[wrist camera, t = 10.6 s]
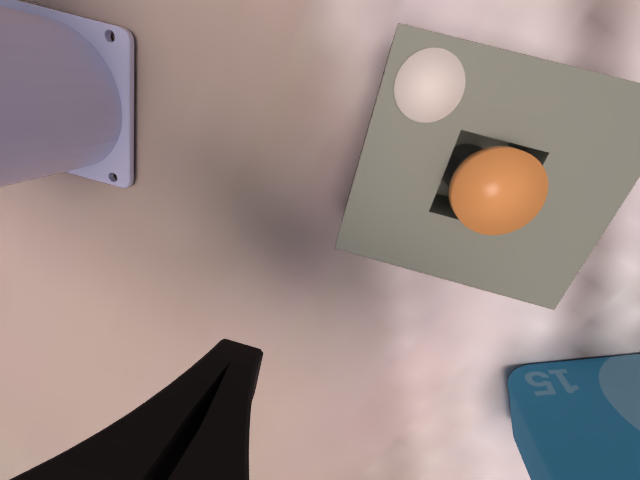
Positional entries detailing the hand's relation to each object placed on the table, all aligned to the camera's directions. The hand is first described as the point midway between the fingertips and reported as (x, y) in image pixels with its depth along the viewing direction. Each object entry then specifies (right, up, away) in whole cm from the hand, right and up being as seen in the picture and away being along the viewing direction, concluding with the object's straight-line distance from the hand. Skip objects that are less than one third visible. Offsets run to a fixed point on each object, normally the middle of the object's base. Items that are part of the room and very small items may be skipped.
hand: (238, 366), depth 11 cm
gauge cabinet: (+9, +8, +5) cm, 13 cm away
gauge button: (+9, +7, +4) cm, 12 cm away
